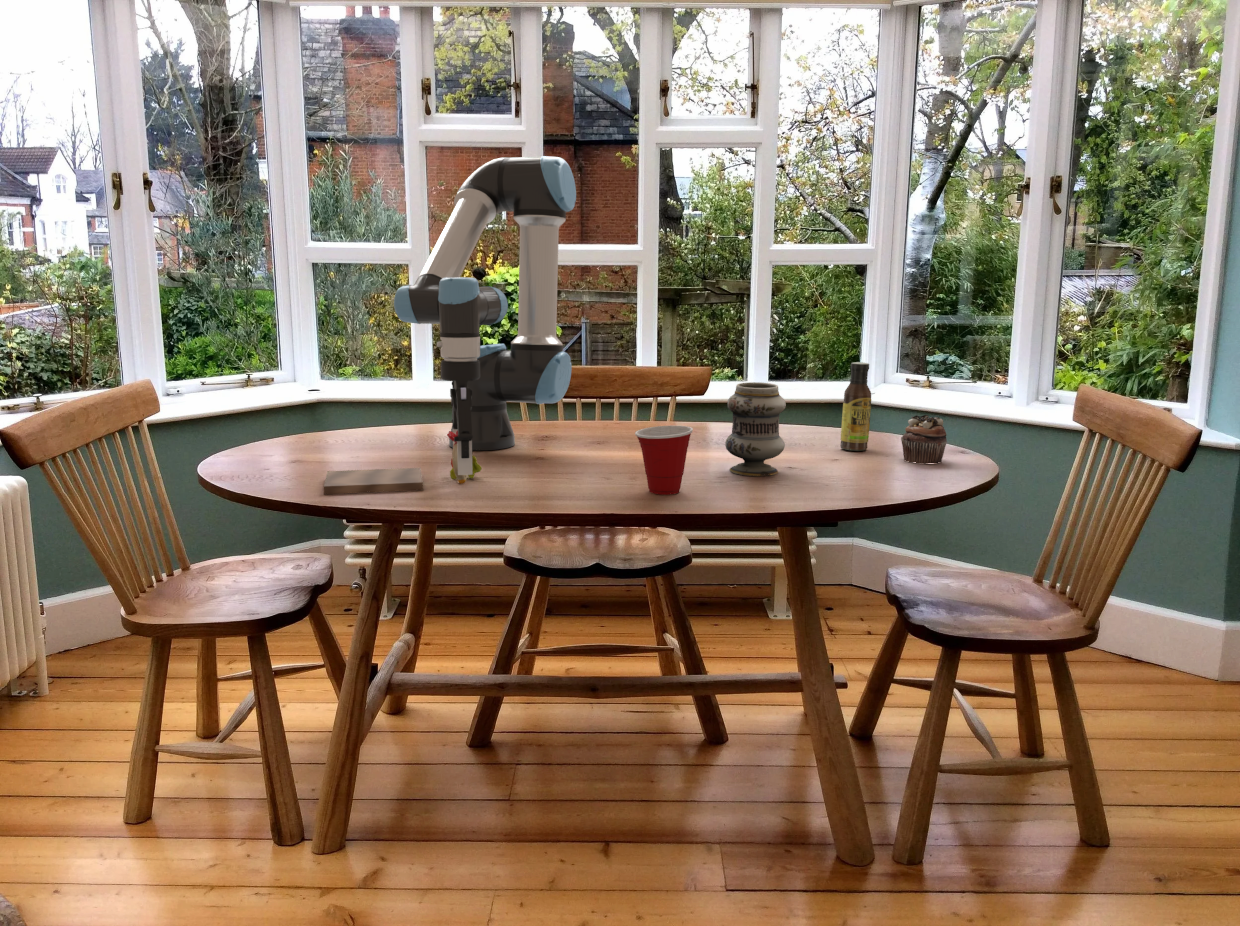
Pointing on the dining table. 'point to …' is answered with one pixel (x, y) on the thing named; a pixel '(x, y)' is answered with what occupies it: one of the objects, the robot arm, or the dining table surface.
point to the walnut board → (373, 481)
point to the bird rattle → (454, 462)
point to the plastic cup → (664, 456)
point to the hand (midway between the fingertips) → (462, 467)
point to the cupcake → (924, 440)
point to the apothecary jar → (755, 427)
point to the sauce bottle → (856, 410)
